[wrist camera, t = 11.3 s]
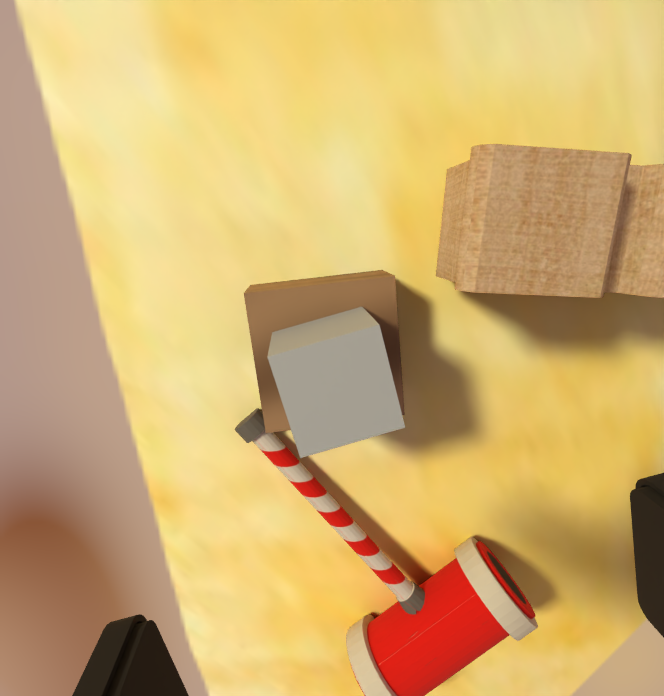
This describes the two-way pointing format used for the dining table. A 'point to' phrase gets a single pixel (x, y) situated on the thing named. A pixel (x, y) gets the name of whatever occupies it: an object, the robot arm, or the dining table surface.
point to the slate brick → (335, 381)
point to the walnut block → (311, 304)
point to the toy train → (553, 223)
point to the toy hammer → (413, 597)
